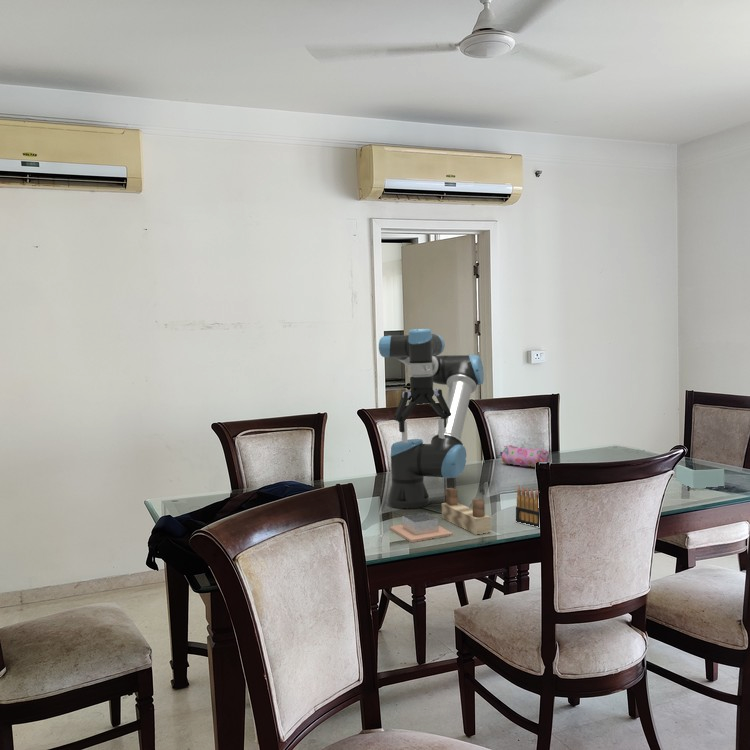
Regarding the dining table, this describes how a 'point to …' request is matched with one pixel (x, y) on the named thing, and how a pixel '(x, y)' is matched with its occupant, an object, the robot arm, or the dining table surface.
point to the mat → (415, 538)
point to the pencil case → (523, 456)
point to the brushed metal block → (420, 523)
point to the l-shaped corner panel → (699, 477)
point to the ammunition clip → (527, 507)
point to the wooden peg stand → (465, 513)
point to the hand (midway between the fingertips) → (423, 440)
